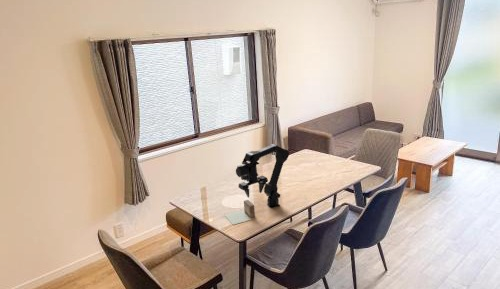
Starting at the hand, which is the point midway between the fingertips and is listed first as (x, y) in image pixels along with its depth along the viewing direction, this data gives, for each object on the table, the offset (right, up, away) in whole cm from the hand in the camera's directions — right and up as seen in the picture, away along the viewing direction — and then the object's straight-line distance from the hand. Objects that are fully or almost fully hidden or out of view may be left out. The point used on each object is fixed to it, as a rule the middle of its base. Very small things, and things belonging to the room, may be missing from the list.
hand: (254, 195), depth 229 cm
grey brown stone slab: (-3, -12, +1) cm, 13 cm away
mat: (-11, -14, -2) cm, 18 cm away
